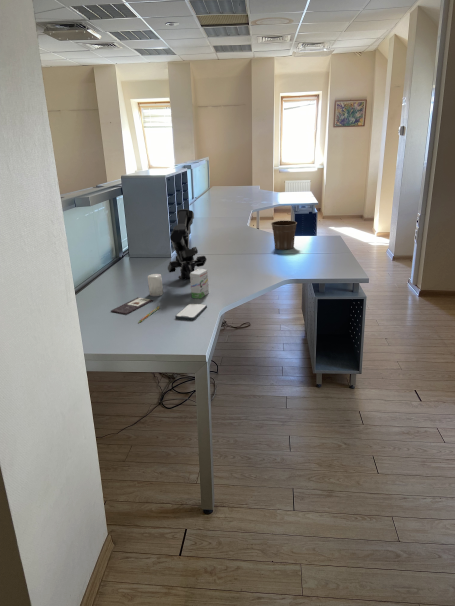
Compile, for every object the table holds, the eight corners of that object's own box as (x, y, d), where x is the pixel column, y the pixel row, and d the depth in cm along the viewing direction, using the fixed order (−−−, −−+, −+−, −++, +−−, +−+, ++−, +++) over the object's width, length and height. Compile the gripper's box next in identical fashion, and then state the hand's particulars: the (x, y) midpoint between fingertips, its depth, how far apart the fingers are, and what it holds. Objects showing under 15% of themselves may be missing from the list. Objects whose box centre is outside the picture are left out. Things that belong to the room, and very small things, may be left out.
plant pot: (290, 251, 276) (290, 226, 270) (267, 249, 284) (266, 224, 278) (300, 246, 289) (301, 221, 283) (278, 244, 297) (278, 219, 291)
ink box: (200, 298, 204) (198, 274, 200) (191, 297, 206) (189, 273, 202) (209, 293, 211) (207, 269, 207) (200, 291, 213) (198, 268, 209)
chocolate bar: (110, 310, 194) (137, 297, 208) (110, 312, 194) (137, 299, 209) (126, 313, 190) (152, 299, 204) (126, 315, 190) (153, 301, 204)
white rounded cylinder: (147, 293, 214) (145, 275, 211) (160, 290, 217) (158, 273, 214) (152, 297, 209) (150, 278, 206) (165, 294, 212) (163, 276, 209)
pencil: (139, 324, 180) (160, 308, 196) (139, 322, 179) (160, 306, 195) (136, 324, 180) (158, 308, 196) (136, 321, 180) (157, 306, 196)
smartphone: (189, 306, 197) (174, 319, 183) (189, 303, 197) (173, 316, 182) (208, 308, 194) (194, 321, 180) (207, 304, 194) (194, 317, 180)
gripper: (167, 245, 205) (179, 273, 200) (203, 239, 214) (215, 266, 209) (162, 258, 214) (174, 285, 209) (197, 252, 223) (209, 278, 218)
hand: (193, 278), depth 211 cm, fingers closed
